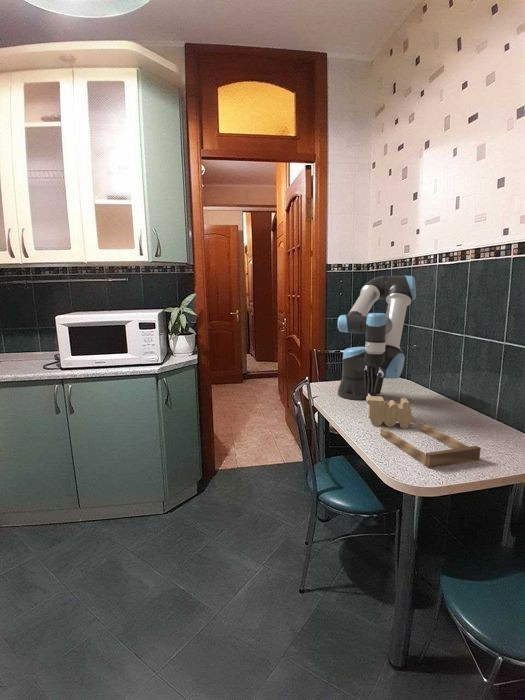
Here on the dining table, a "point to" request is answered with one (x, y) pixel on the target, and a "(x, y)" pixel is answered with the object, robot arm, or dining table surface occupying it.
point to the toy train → (389, 412)
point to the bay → (438, 458)
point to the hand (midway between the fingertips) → (371, 409)
